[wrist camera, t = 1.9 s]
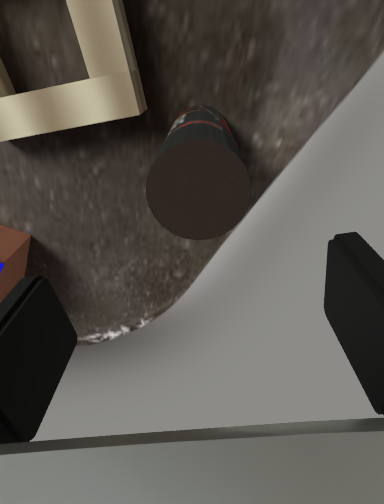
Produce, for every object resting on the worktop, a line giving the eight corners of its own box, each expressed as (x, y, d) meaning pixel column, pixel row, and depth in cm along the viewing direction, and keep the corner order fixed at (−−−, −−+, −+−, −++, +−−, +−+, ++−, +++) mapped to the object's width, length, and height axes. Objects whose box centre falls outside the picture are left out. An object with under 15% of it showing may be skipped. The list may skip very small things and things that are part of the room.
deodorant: (209, 179, 32) (213, 255, 19) (159, 149, 30) (128, 209, 18) (242, 128, 29) (273, 177, 16) (189, 92, 28) (178, 115, 15)
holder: (92, -129, 21) (71, -166, 17) (147, 108, 28) (139, 114, 25) (-98, -72, 22) (-151, -97, 19) (2, 136, 30) (-23, 145, 27)
